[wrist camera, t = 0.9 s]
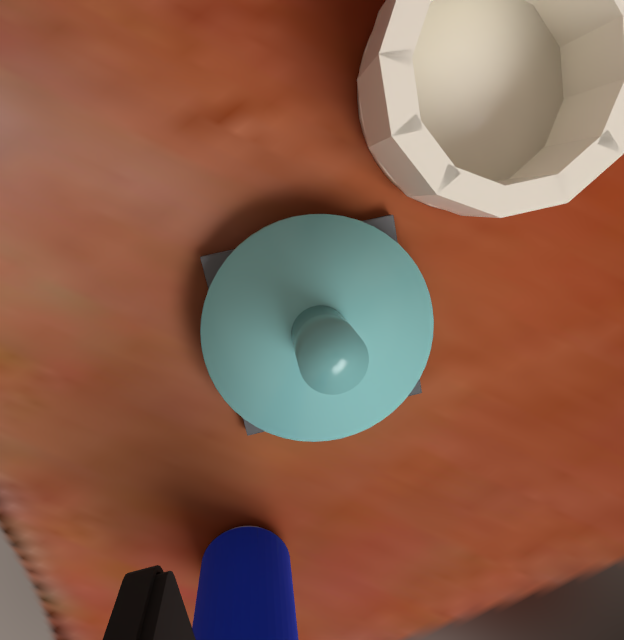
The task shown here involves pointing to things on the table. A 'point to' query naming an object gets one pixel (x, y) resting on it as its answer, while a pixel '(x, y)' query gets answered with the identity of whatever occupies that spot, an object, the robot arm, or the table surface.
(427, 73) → the bowl
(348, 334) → the lid
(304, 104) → the table surface
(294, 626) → the beverage can
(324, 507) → the table surface
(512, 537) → the table surface
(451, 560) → the table surface
